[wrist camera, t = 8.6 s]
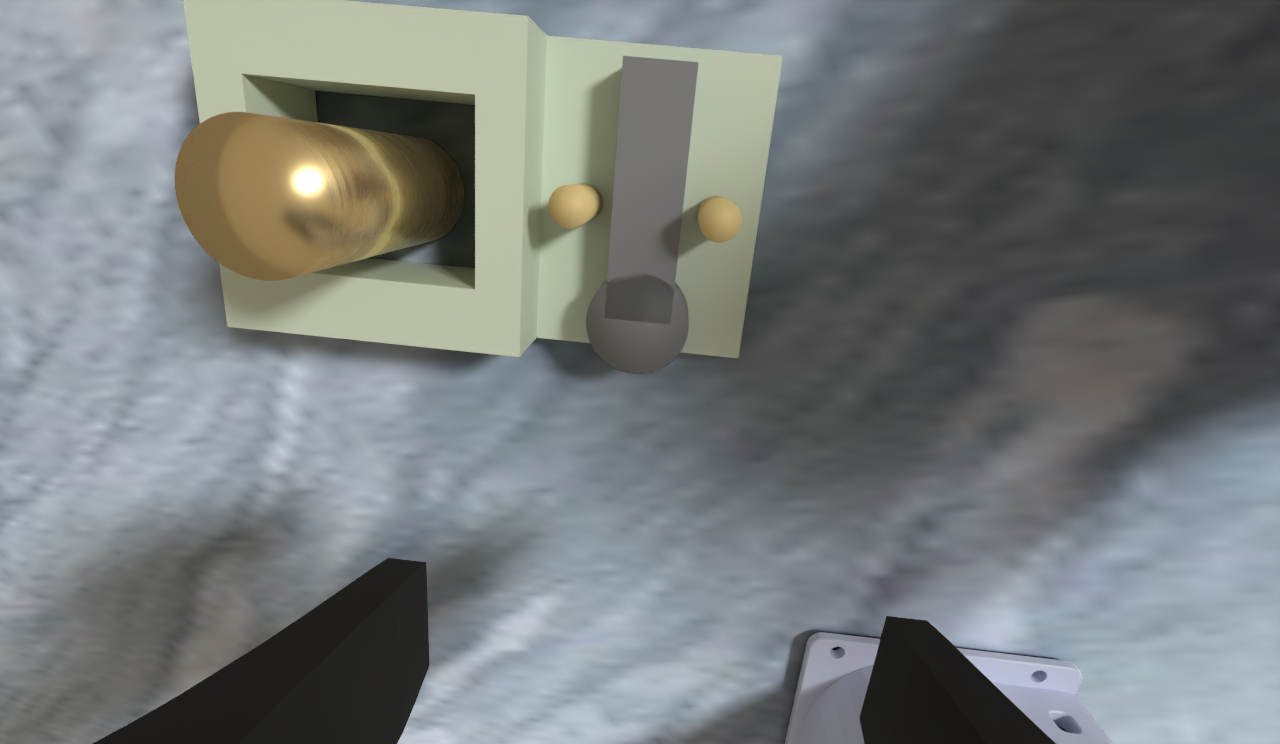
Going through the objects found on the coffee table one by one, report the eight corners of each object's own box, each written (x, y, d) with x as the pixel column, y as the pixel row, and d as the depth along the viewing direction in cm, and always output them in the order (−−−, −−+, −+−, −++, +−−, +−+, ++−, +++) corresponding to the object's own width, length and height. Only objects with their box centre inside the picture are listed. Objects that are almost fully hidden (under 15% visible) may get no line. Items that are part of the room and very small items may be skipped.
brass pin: (462, 137, 17) (321, 114, 10) (467, 244, 18) (342, 284, 11) (360, 134, 17) (159, 109, 11) (371, 240, 18) (192, 277, 12)
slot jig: (776, 63, 16) (801, 34, 13) (733, 361, 19) (744, 400, 15) (267, 19, 16) (166, -19, 13) (296, 316, 19) (218, 344, 16)
